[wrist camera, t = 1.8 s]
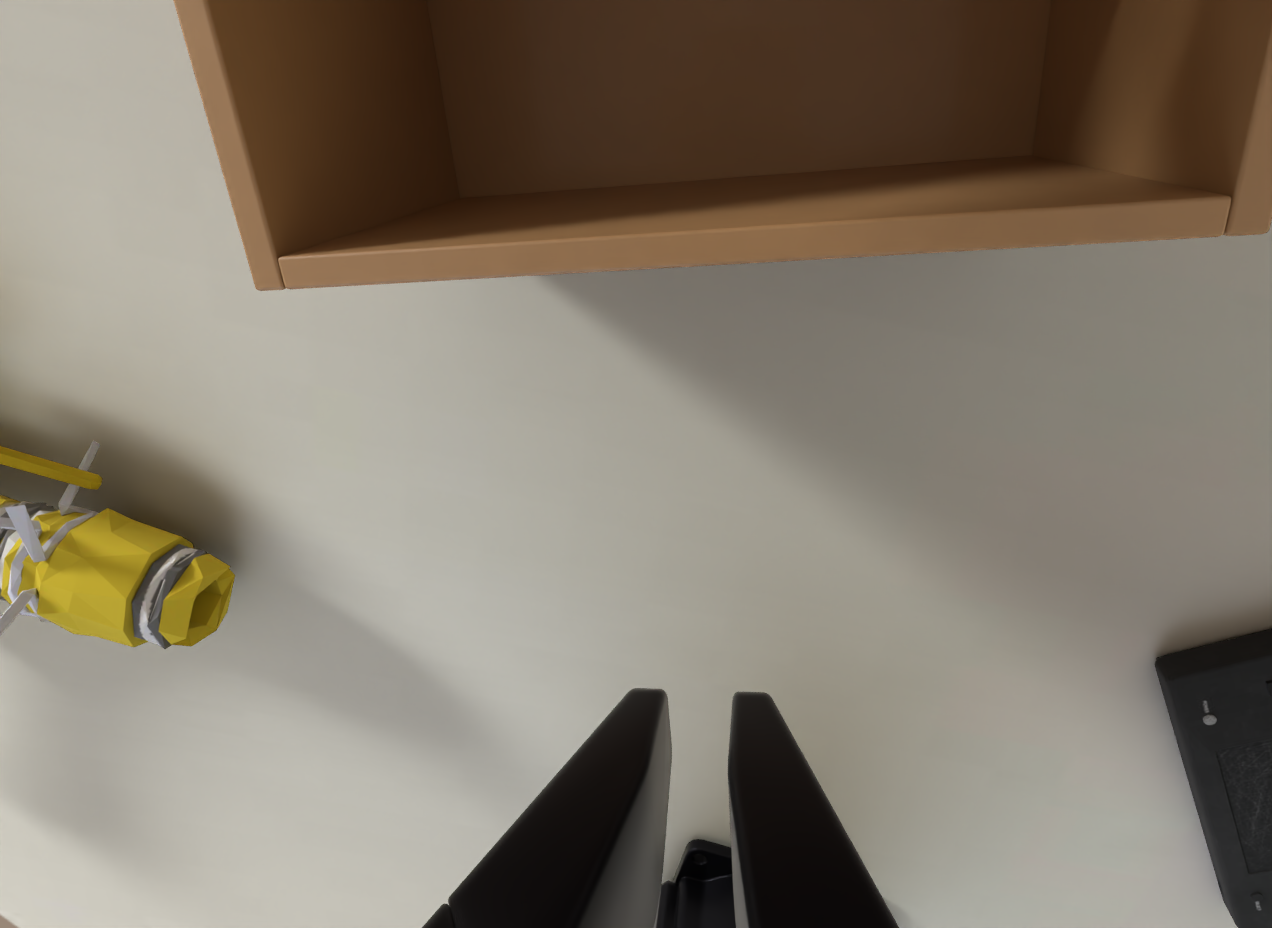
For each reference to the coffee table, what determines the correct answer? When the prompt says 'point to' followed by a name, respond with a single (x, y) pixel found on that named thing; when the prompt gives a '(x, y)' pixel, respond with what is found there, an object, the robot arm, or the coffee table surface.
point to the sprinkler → (104, 567)
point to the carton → (723, 130)
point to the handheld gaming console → (1229, 761)
